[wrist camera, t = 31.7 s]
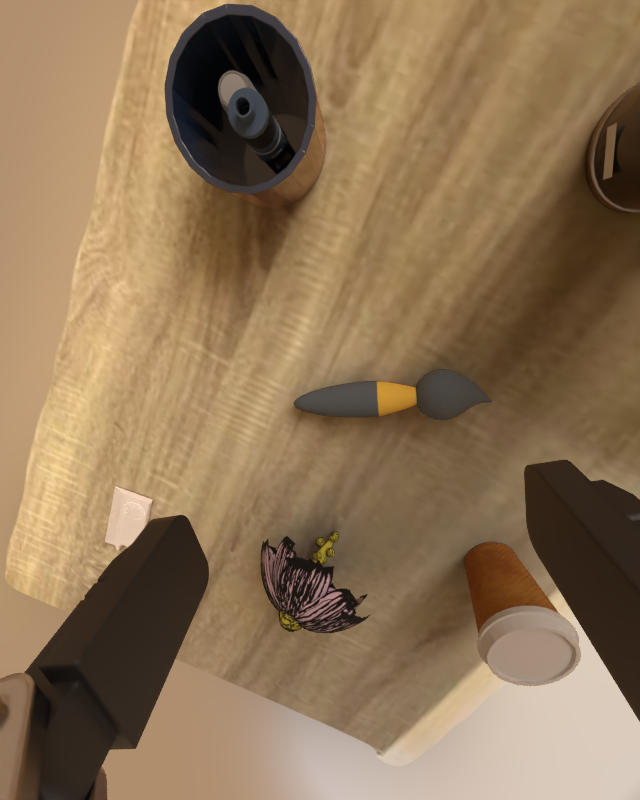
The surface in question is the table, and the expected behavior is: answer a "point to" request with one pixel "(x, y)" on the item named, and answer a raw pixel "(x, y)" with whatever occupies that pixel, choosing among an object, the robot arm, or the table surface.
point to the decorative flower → (307, 589)
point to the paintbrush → (396, 397)
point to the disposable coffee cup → (517, 620)
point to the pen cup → (275, 81)
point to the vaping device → (254, 120)
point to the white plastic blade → (127, 517)
